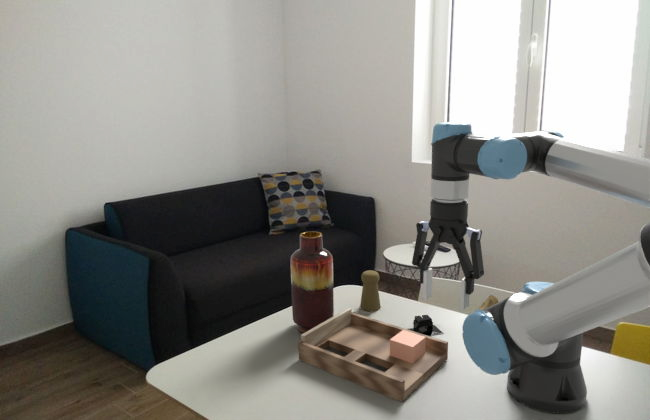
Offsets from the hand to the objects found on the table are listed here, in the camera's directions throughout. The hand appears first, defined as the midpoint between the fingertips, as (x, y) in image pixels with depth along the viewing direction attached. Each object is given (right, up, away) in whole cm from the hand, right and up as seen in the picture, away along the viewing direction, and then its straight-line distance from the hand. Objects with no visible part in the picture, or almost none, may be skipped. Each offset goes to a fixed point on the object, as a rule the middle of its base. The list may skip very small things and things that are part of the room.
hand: (445, 302), depth 110 cm
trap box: (-15, -15, +11) cm, 24 cm away
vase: (-29, -12, +28) cm, 42 cm away
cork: (-13, -9, +40) cm, 43 cm away
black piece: (0, -13, +24) cm, 27 cm away
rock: (+15, -13, +22) cm, 29 cm away
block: (-7, -14, +9) cm, 18 cm away
